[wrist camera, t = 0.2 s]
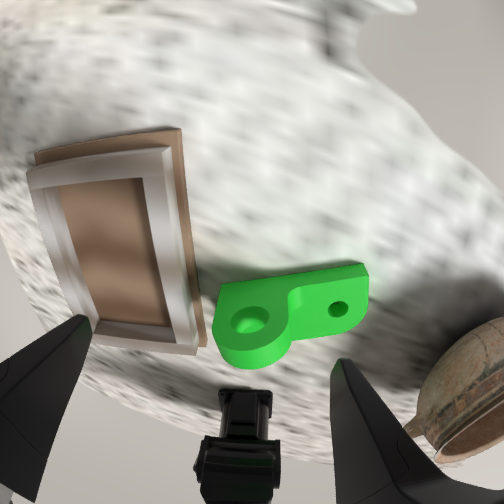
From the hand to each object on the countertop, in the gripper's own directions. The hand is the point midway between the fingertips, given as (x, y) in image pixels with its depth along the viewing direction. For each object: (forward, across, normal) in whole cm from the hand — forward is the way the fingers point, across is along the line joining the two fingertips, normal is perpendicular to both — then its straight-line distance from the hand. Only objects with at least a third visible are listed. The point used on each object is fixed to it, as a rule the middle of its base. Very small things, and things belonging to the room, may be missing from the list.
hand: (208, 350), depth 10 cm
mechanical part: (+14, -6, +8) cm, 18 cm away
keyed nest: (+14, +10, +6) cm, 18 cm away
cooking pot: (+14, -30, +13) cm, 36 cm away
